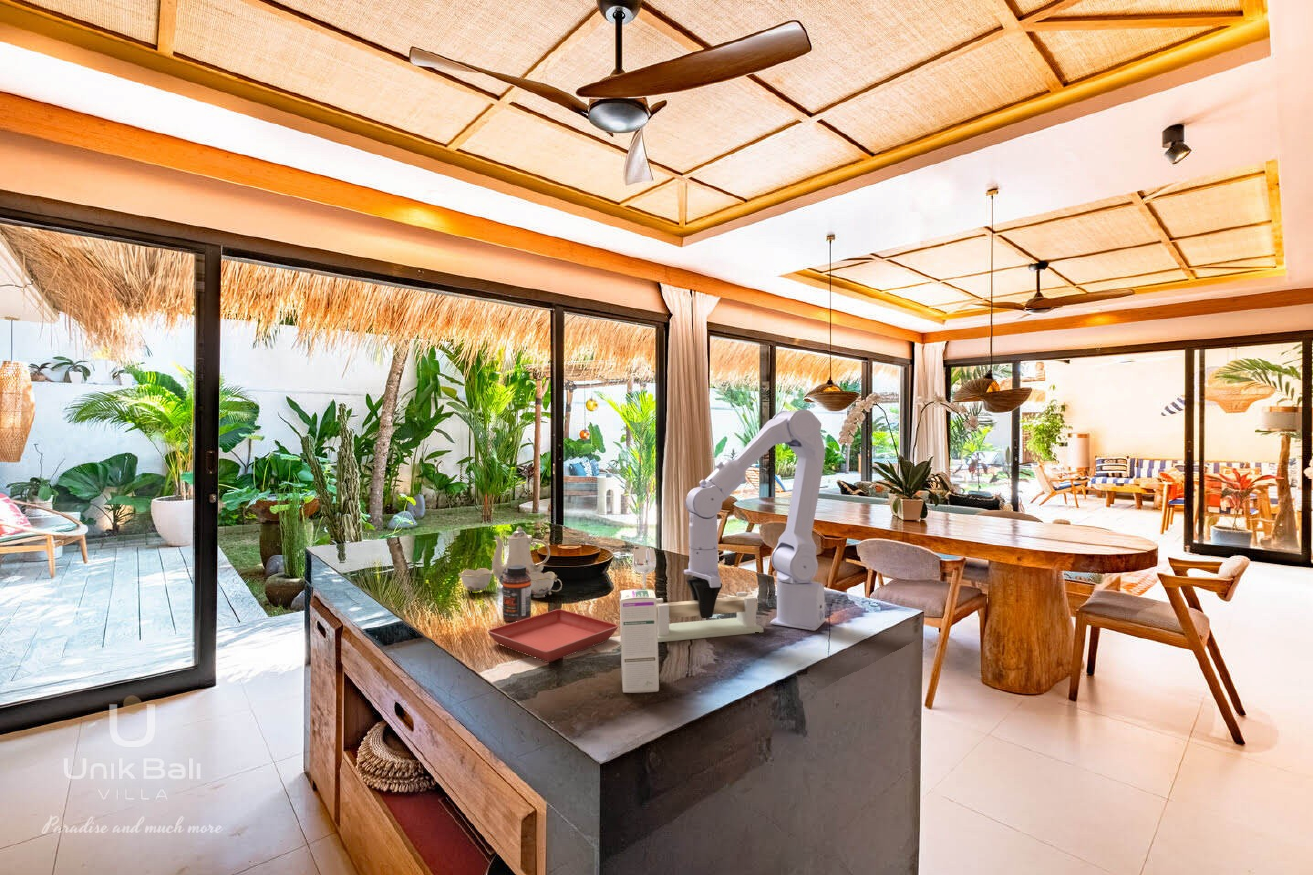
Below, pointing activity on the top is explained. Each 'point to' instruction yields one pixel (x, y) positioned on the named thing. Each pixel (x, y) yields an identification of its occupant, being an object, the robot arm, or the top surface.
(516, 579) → the supplement bottle
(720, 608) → the rail
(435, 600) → the top surface
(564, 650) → the plant saucer
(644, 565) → the wineglass
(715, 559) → the robot arm
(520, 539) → the chinaware
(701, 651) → the top surface
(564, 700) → the top surface
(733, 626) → the rail stand
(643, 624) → the syrup box
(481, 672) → the top surface
